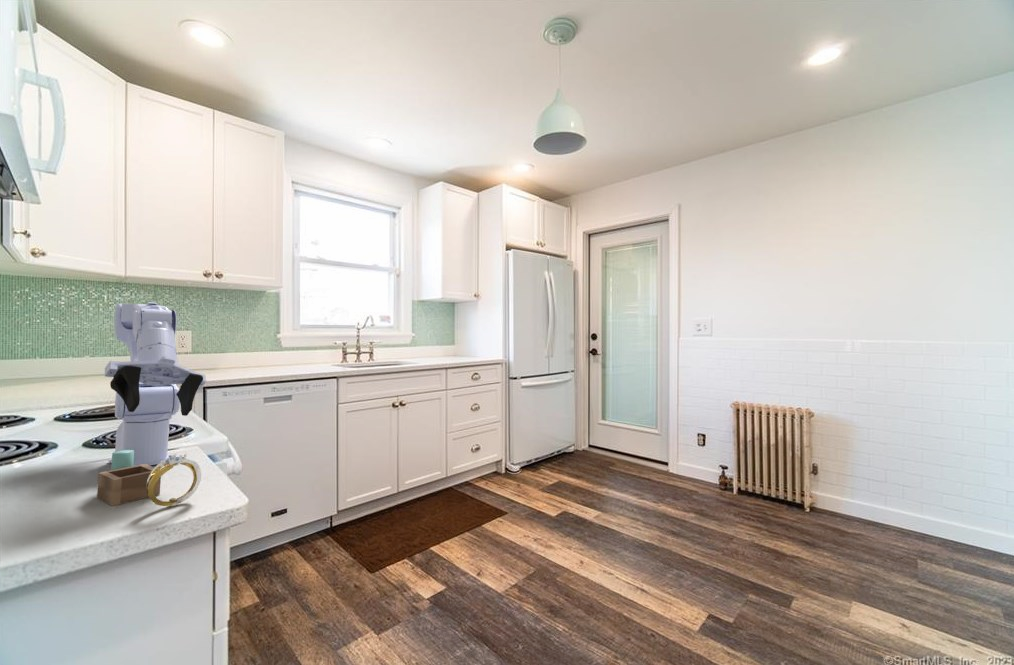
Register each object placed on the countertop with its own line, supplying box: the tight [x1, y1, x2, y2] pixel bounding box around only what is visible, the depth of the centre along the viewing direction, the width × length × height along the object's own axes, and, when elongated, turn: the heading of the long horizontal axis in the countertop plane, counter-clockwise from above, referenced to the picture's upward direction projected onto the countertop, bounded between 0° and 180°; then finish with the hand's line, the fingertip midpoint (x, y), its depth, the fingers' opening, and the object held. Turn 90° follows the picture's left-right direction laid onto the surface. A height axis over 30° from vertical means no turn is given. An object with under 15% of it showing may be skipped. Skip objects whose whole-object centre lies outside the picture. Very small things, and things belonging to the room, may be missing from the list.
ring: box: [146, 453, 202, 507], centre depth 65 cm, size 7×3×8 cm, turn 147°
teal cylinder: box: [110, 450, 134, 470], centre depth 71 cm, size 3×3×6 cm
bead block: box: [96, 464, 162, 507], centre depth 68 cm, size 6×6×4 cm
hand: (161, 410), depth 71 cm, fingers open, 7 cm apart
